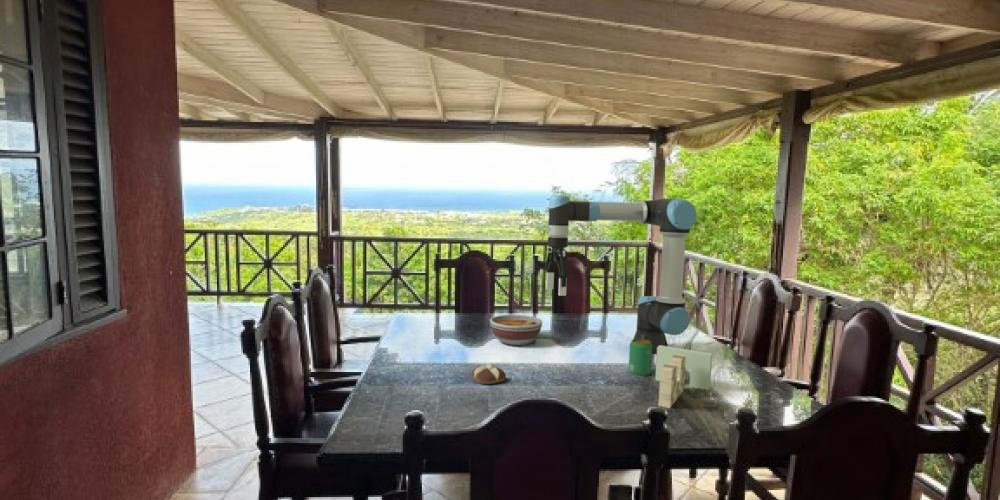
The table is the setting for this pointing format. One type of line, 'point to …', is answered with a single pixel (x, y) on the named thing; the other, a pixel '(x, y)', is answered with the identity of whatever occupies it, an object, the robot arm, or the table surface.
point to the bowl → (515, 328)
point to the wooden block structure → (672, 380)
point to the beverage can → (640, 357)
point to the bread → (488, 374)
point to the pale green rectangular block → (688, 365)
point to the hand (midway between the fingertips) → (555, 292)
